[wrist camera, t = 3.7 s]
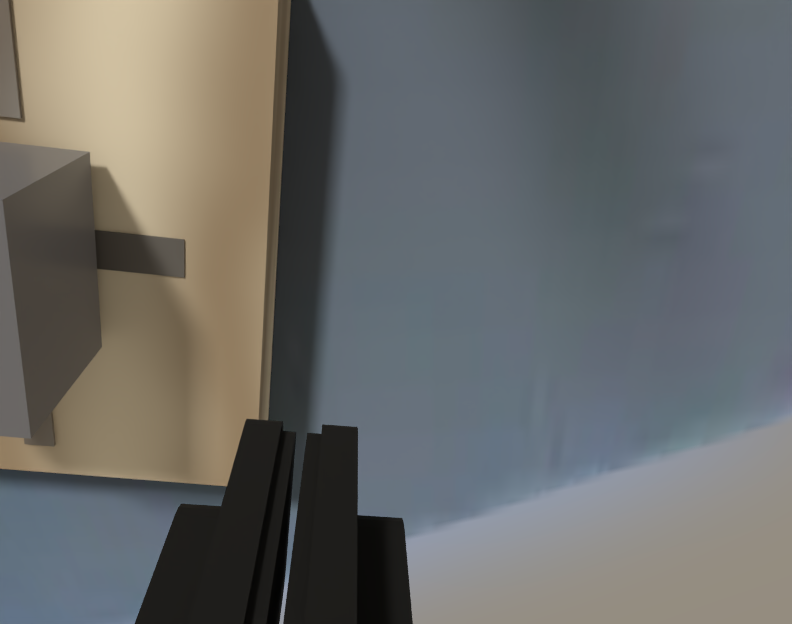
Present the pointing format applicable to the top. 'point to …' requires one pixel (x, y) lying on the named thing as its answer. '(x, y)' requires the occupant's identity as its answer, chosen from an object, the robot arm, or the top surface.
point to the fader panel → (160, 220)
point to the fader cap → (44, 281)
